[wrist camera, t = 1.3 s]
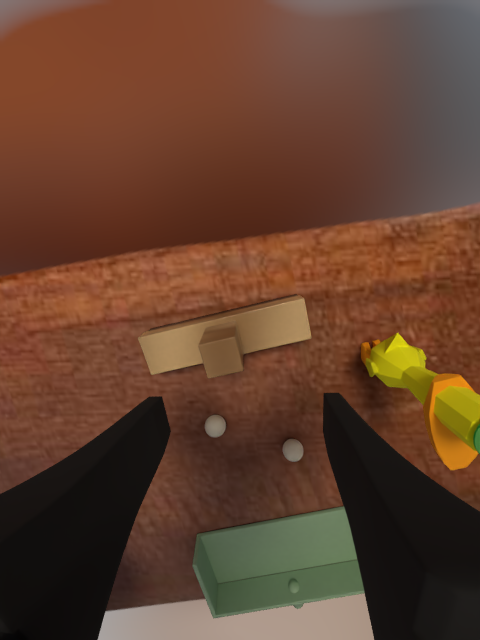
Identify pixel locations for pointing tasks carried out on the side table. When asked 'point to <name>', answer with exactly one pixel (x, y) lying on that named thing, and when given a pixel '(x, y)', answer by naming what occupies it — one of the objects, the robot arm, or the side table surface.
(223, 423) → the crumb
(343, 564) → the dustpan
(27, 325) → the side table surface
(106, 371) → the side table surface
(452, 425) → the toy figure
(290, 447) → the crumb
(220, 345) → the brush
